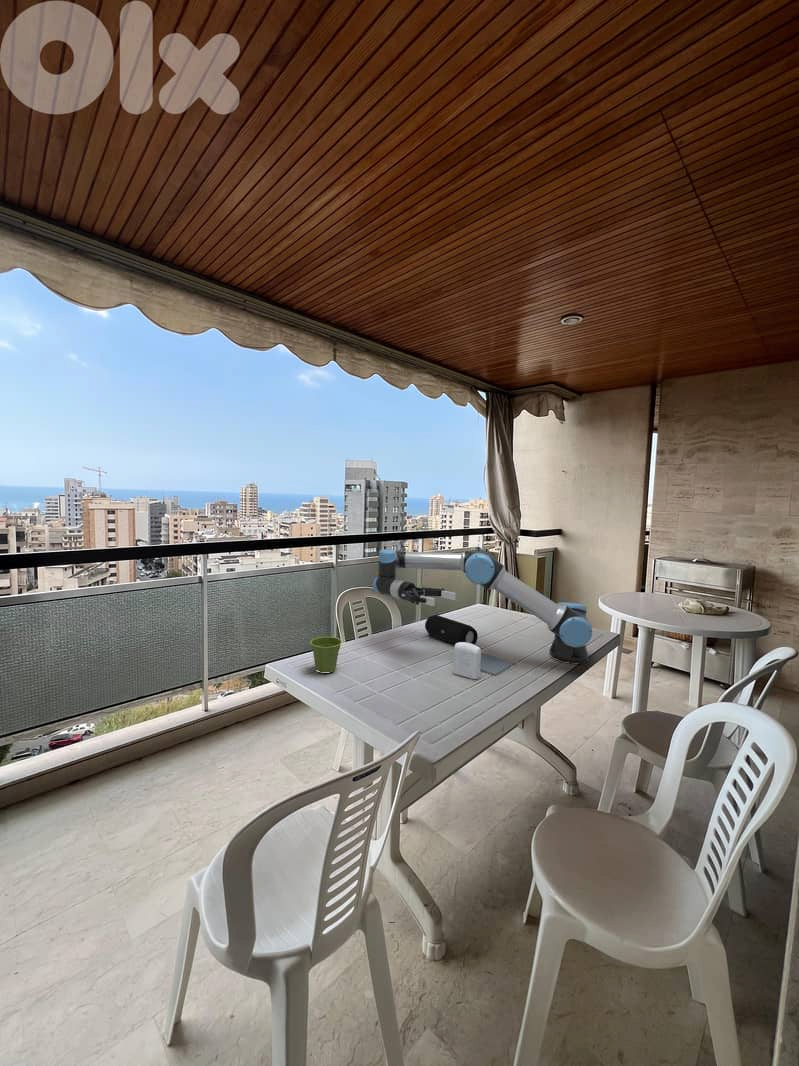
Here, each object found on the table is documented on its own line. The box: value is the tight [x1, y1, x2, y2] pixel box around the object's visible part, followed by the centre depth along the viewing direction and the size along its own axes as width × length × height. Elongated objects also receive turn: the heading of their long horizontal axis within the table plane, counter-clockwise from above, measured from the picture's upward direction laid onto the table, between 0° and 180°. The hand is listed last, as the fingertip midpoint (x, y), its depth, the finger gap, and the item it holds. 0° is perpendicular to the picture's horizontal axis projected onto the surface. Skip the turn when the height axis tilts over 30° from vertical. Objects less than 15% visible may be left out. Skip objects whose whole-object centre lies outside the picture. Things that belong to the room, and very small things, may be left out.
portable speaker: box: [424, 614, 479, 645], centre depth 199 cm, size 26×10×10 cm, turn 39°
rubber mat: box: [480, 651, 517, 677], centre depth 173 cm, size 16×16×1 cm
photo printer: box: [452, 642, 482, 680], centre depth 161 cm, size 10×4×12 cm, turn 56°
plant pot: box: [309, 636, 343, 672], centre depth 163 cm, size 12×12×11 cm
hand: (445, 599), depth 167 cm, fingers open, 13 cm apart
